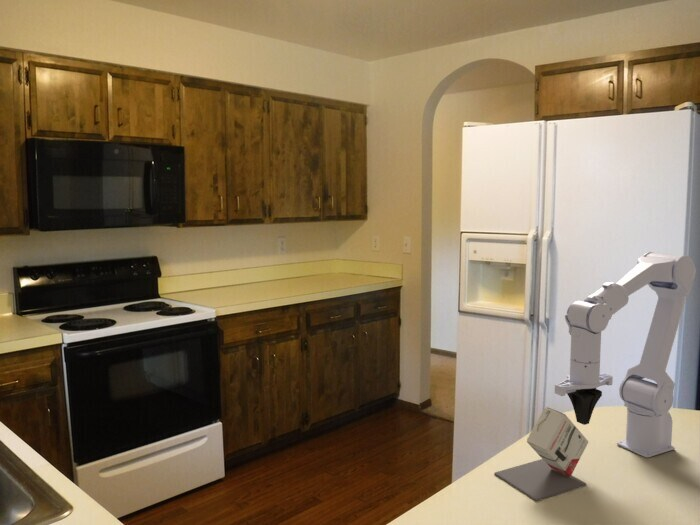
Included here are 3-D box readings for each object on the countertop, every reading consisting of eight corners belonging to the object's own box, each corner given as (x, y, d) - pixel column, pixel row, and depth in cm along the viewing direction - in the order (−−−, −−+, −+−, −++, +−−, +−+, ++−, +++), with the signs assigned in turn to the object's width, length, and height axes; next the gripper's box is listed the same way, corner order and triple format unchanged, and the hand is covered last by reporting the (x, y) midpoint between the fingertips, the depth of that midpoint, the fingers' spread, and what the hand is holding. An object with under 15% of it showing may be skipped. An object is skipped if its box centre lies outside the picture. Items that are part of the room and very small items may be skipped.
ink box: (571, 478, 119) (545, 450, 113) (550, 468, 123) (524, 441, 117) (590, 441, 121) (565, 413, 116) (569, 433, 125) (544, 405, 120)
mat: (541, 460, 127) (541, 459, 127) (586, 485, 117) (586, 483, 117) (494, 474, 122) (494, 472, 122) (536, 501, 111) (536, 499, 111)
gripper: (594, 350, 128) (592, 410, 130) (544, 359, 122) (542, 422, 123) (622, 358, 122) (619, 421, 124) (570, 368, 116) (568, 434, 117)
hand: (582, 422), depth 123 cm, fingers closed
